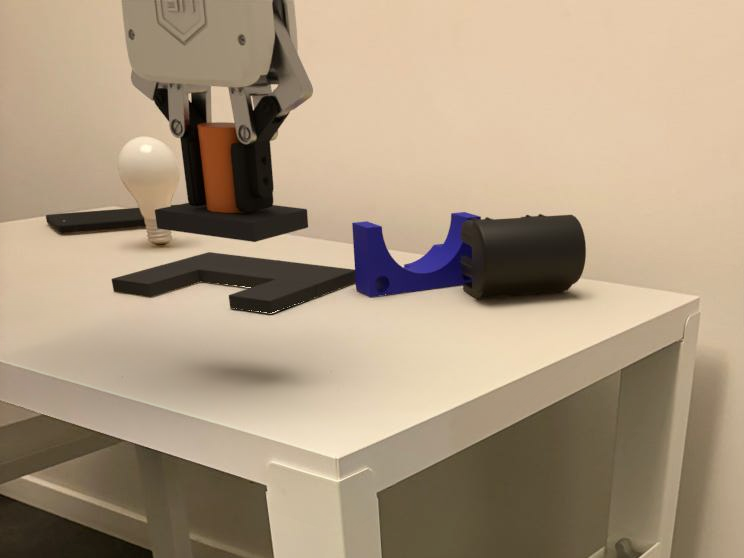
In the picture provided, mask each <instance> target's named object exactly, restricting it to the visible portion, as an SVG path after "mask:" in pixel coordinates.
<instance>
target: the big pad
mask: <svg viewBox="0 0 744 558" xmlns="http://www.w3.org/2000/svg"><path fill="white" fill-rule="evenodd" d="M200 281H202V282H200ZM197 282H199V283H205V282H210V283H209V284H213V283H219V284H218V285H220V284H228V285H237V286H245V287H251V288H244V289H243V290H239V291H237V292H233V293H230V294H229V295H228V302H229V303H228V304H229V308H230V309H231V308H235V309H234V310H236V308H237V309H243V310H250V311H251V310H252V311H259V312H260V311H261V312H267V313H272V312H275V311H277V310H281V309H283V308H287V307H289V306H292V305H294V304H298V303H301V302H303V301H306V302H308V301H307V300H309V299H311V298H314V297H316V298H318V297H317V296H319V297H322V296H324V295H323V294H325V295H327V294H329V293H328V292H330V293H332V292H331V291H333V292H335V291H338V290H340V289H339V288H341V289H343V288H346V287H349V286H351V285H353V283H354V284H356V279H355V268H345V267H337V266H328V265H320V264H312V263H311V264H310V263H304V262H303V263H302V262H296V261H287V260H278V259H270V258H262V257H253V256H244V255H237V254H236V255H235V254H228V253H219V252H212V251H208V252H204V253H201V254H197V255H193V256H190V257H186V258H183V259H178V260H175V261H171V262H168V263H164V264H160V265H157V266H152V267H149V268H146V269H142V270H137V271H135V272H130V273H128V274H124V275H121V276H117V277H112V278H111V284H112V291H113V293H118V294H126V295H133V296H138V297H145V298H154V297H156V296H160V295H163V294H166V293H169V291H170V292H172V290H173V291H176V290H179V289H183V288H186V287H189V286H192V285H191V284H193V285H195V284H194V283H196V284H198V283H197ZM350 284H351V285H350ZM188 285H189V286H188ZM228 285H227V286H228ZM348 285H349V286H348ZM185 286H186V287H185ZM345 286H346V287H345ZM182 287H183V288H182ZM342 287H343V288H342ZM175 289H176V290H175ZM337 289H338V290H337ZM334 290H335V291H334ZM326 293H327V294H326ZM321 295H322V296H321ZM314 299H315V298H314ZM311 300H312V299H311ZM309 301H310V300H309ZM303 303H304V302H303ZM301 304H302V303H301ZM298 305H299V304H298ZM287 309H288V308H287ZM243 310H242V311H243ZM250 311H249V312H250Z"/></svg>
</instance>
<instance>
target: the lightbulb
mask: <svg viewBox="0 0 744 558" xmlns="http://www.w3.org/2000/svg"><path fill="white" fill-rule="evenodd" d="M117 171H118V175H119V178H120V180H121V182H122V184H123V185H124V187H125V188H126V190H127V191H128V192H129V194H130V195H131V196H132V197H133V199H134V200H135V202H136V203H137V208H139V209H140V212H141V214H142V216H143V217H144V221H145V224H146V226H145V229H146V233H147V234H146V236H147V241H148V242H149V243H151V244H152V245H155V246H156V247H165V246H167V245H168V244H169V243H170V242H171V241H172V240H173V236H172V232H173V231H171V230H164V229H158V228H157V223H156V216H155V210H156V209H160V208H165V207H170V206H171V205H172V200H173V197H174V194H175V192H176V190H177V188H178V186H179V182H180V176H181V169H180V165H179V161H178V159H177V156H176V155H175V153H174V151H173V150H172V148H171V147H169V145H168V144H166V143H165V142H164V141H162V140H160V139H159V138H156V137H153V136H148V135H140V136H136V137H134V138H131V139H129V140H128V141H127V142H126V143H124V145H123V146H122V148H121V149H120V151H119V154H118V157H117Z"/></svg>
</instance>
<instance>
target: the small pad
mask: <svg viewBox="0 0 744 558" xmlns="http://www.w3.org/2000/svg"><path fill="white" fill-rule="evenodd" d="M198 134H199V143H200V151H201V160H202V169H203V178H204V186H205V195H206V204H207V205H203V206H191V205H190V204H189V202H185V203H180V204H174V205H175V206H170V207H165V208H160V209H156V210H155V216H156V223H157V228H158V229H164V230H170V231H171V232H177V233H178V232H179V233H185V234H186V233H187V234H193V235H200V236H208V237H215V238H223V239H229V240H236V241H243V242H244V241H245V242H251V243H256V242H259V241H264V240H268V239H272V238H275V237H279V236H282V235H286V234H289V233H290V234H291V233H295V232H297V231H300V230H304V229H308V228H309V216H308V209H307V208H301V207H293V206H284V205H277V204H273V205H272V207H270V208H265V209H261V210H257V211H252V212H240V211H239V210H238V209H237V207H236V201H235V191H234V181H233V171H232V161H231V144H233V143H239V139H238V137H237V134H236V128H235V122H217V121H216V122H212V123H202V124H198Z"/></svg>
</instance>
